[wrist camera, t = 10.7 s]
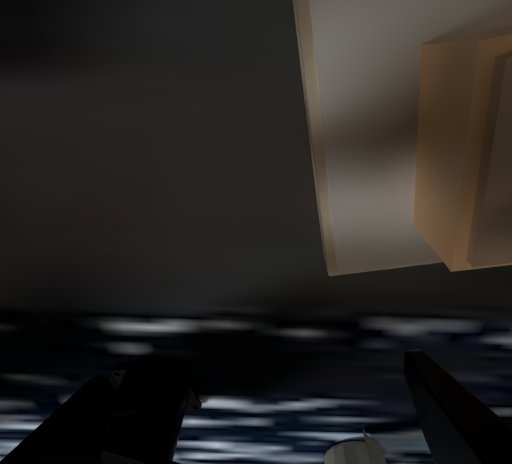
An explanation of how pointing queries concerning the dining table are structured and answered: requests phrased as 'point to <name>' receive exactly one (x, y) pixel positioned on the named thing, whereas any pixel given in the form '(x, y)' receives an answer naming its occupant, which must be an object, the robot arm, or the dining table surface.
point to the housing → (466, 149)
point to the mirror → (373, 118)
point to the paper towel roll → (355, 453)
